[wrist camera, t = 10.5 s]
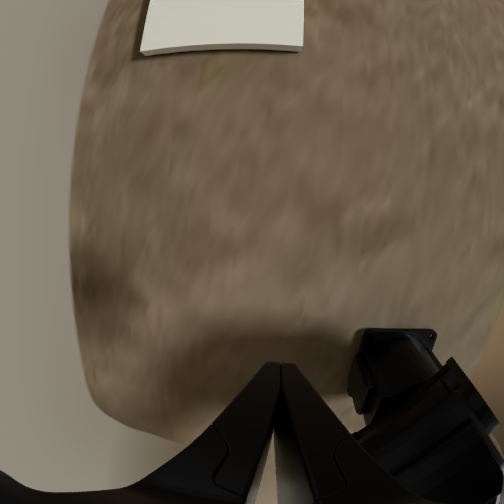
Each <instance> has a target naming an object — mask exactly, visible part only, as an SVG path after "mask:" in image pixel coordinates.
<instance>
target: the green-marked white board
mask: <svg viewBox="0 0 504 504" xmlns="http://www.w3.org/2000/svg"><path fill="white" fill-rule="evenodd" d="M303 22H304V0H150V3H149V8H148V12H147V17H146V22H145V27H144V32H143V37H142V43H141V48H140V52H141V53H143V54H144V55H145V56H149V55H156V54H164V53H173V52H184V51H197V50H216V49H264V50H283V51H296V52H302V49H303Z"/></svg>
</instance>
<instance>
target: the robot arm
mask: <svg viewBox="0 0 504 504" xmlns="http://www.w3.org/2000/svg"><path fill="white" fill-rule="evenodd" d="M370 334H373V335H372V336H371V337H368V335H370ZM430 335H432V336H431V337H430ZM436 338H437V333H436V332H435V331H434V330H433V329H368V330H366V331H365V332H364V334H363V337H362V341H361V345H360V349H359V353H358V354H356V355H355V356H354V360H353V363H352V367H351V370H350V374H349V377H348V383H349V387H348V390H347V392H348V395H349V396H350V397H352V398H353V402H354V406H355V410H356V413H357V414H358V415H363V416H364V420H365V424H366V427H364V428H363V429H361V430H360V431H358V432H354V433H353V434H351V433H349V431H348V430H347V429H346V427H345V426H344V425H343V424H342V422H341V421H340V420H339V419H338V418H337V416H336V415H335V414H334V413H333V411H332V410H331V409H330V408H329V406H328V405H327V404H326V403H325V401H324V400H323V399H322V398H321V396H320V395H319V394H318V393H317V391H316V390H315V389H314V388H313V386H312V385H311V384H310V383H309V381H308V380H307V379H306V378H305V376H304V375H303V374H302V372H301V371H300V370H299V369H298V367H297V366H296V365H295V364H293V363H281V364H280V363H278V362H266V363H265V364H264V365H263V366H262V367H261V368H260V370H259V371H258V372H257V373H256V374H255V375H254V377H253V378H252V379H251V380H250V381H249V382H248V384H247V385H246V386H245V387H244V388H243V389H242V390H241V392H240V393H239V394H238V395H237V396H236V397H235V398H234V399H233V401H232V402H231V403H230V404H229V405H228V406H227V407H226V408H225V409H224V410H223V412H222V413H221V414H220V415H219V416H218V417H217V418H216V419H215V420H214V421H213V422H212V425H209V426H208V428H207V429H206V430H205V431H204V432H203V433H202V434H201V435H200V436H199V437H198V438H197V439H195V440H194V441H193V442H192V443H191V444H190V445H189V446H188V447H186V448H185V449H184V450H183V451H182V452H180V453H179V454H177V455H176V456H175V457H173V458H172V459H171V460H169V461H168V462H166V463H165V464H163V465H162V466H161V467H159V468H158V469H156V470H155V471H153V472H152V473H150V474H149V475H147V476H146V477H145V478H143V479H141V480H140V481H138V482H136V483H134V484H132V485H129V486H127V487H123V488H120V489H111V490H100V491H87V492H44V491H39V490H35V489H32V488H29V487H26V486H24V485H22V484H21V483H19V482H17V481H16V480H14V479H13V478H12V477H10V476H9V475H7V474H6V473H4V472H2V471H1V470H0V504H255V501H256V497H257V493H258V490H259V486H260V482H261V479H262V475H263V471H264V467H265V463H266V460H267V456H268V452H269V448H270V443H271V439H272V435H273V429H274V448H275V464H276V480H277V497H278V504H500V502H499V501H500V495H501V492H502V485H503V475H504V459H503V456H502V453H501V450H500V447H499V445H498V443H497V441H496V440H495V438H494V437H493V435H492V434H491V432H492V431H494V430H495V429H496V428H497V427H498V426H499V425H500V423H499V421H498V420H497V418H496V417H495V415H494V414H493V412H492V411H491V410H490V408H489V406H488V405H487V404H486V402H485V401H484V399H483V398H482V397H481V395H480V394H479V392H478V391H477V389H476V388H475V387H474V385H473V384H472V383H471V381H470V380H469V378H468V377H467V376H466V374H465V373H464V372H463V371H462V369H461V368H460V367H459V365H458V364H457V363H456V361H455V360H454V359H453V358H452V357H451V358H450V359H449V360H447V361H446V364H445V365H444V366H442V365H441V363H440V362H439V361H438V359H437V358H436V356H435V355H434V354H433V352H432V349H433V346H434V343H435V340H436Z"/></svg>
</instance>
